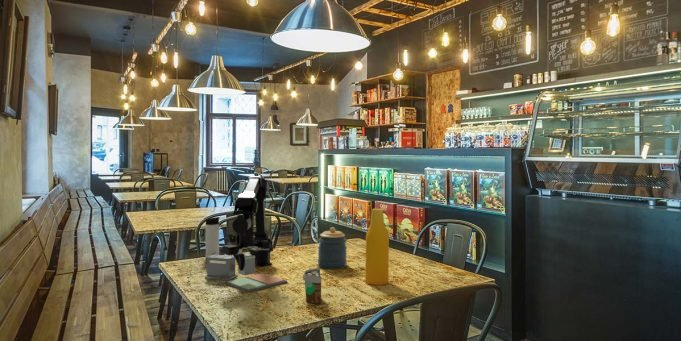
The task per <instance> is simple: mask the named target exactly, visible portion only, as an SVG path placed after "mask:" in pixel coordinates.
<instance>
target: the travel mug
mask: <svg viewBox="0 0 681 341" xmlns="http://www.w3.org/2000/svg"><path fill="white" fill-rule="evenodd" d="M211 255H220V216H217V217H209V218H206V219H205V259H206V260H207V257H209V256H211Z"/></svg>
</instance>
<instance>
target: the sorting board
mask: <svg viewBox="0 0 681 341" xmlns="http://www.w3.org/2000/svg"><path fill="white" fill-rule="evenodd" d="M287 283H288V280H286V279H283V278H279V277H276V276H274V275H269V274H268V273H267V274H266V273H264V272H263V273H257V274H252V275H250V276H249V275H247V276H244V277H241V278H234V279H232V280H230V281H227V280H225V281H224V285H226V286H230V287H232V288H236V289H238V290H240V291H243V292H246V293H253V292H257V291H261V290H265V289H269V288H273V287H276V286H281V285H284V284H287Z"/></svg>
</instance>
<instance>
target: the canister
mask: <svg viewBox="0 0 681 341" xmlns="http://www.w3.org/2000/svg"><path fill="white" fill-rule="evenodd" d="M319 236H320V237H319V238H318V240H317V241H318V244H319V245H318V246H317V249H318V253H317V254H318V257H317V258H318V260H317V265H318V268H320V269H321V268H322V269H327V270H339V269H343V268H346V266H347V248H348V247H347V244H346V243H347V241H348V239H347V238H345V237H346V234H345V233H344V232H342V231H339V230H336V228H335V227H334V226H332V227H330V228H329V230H325V231H323V232H322V233H320V234H319Z"/></svg>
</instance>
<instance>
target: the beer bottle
mask: <svg viewBox="0 0 681 341" xmlns="http://www.w3.org/2000/svg"><path fill="white" fill-rule="evenodd" d="M369 224H370V225H369V227H368V229H367V231H366V234H365V267H364V268H365V271H364V273H365V274H364V275H365V276H364V279H365V282H366V284H368V285H370V286H371V285H372V286H384V285H387V284H388V283H389V278H390V277H389V267H390V266H389V260H390V259H389V258H390V257H389V256H390V255H389V253H390V252H389V251H390V249H389V248H390V245H389V244H390V237H389V232H388V230H387V228H386V225H385V216H384V209H383V208H372V210H371V217H370V223H369Z"/></svg>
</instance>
